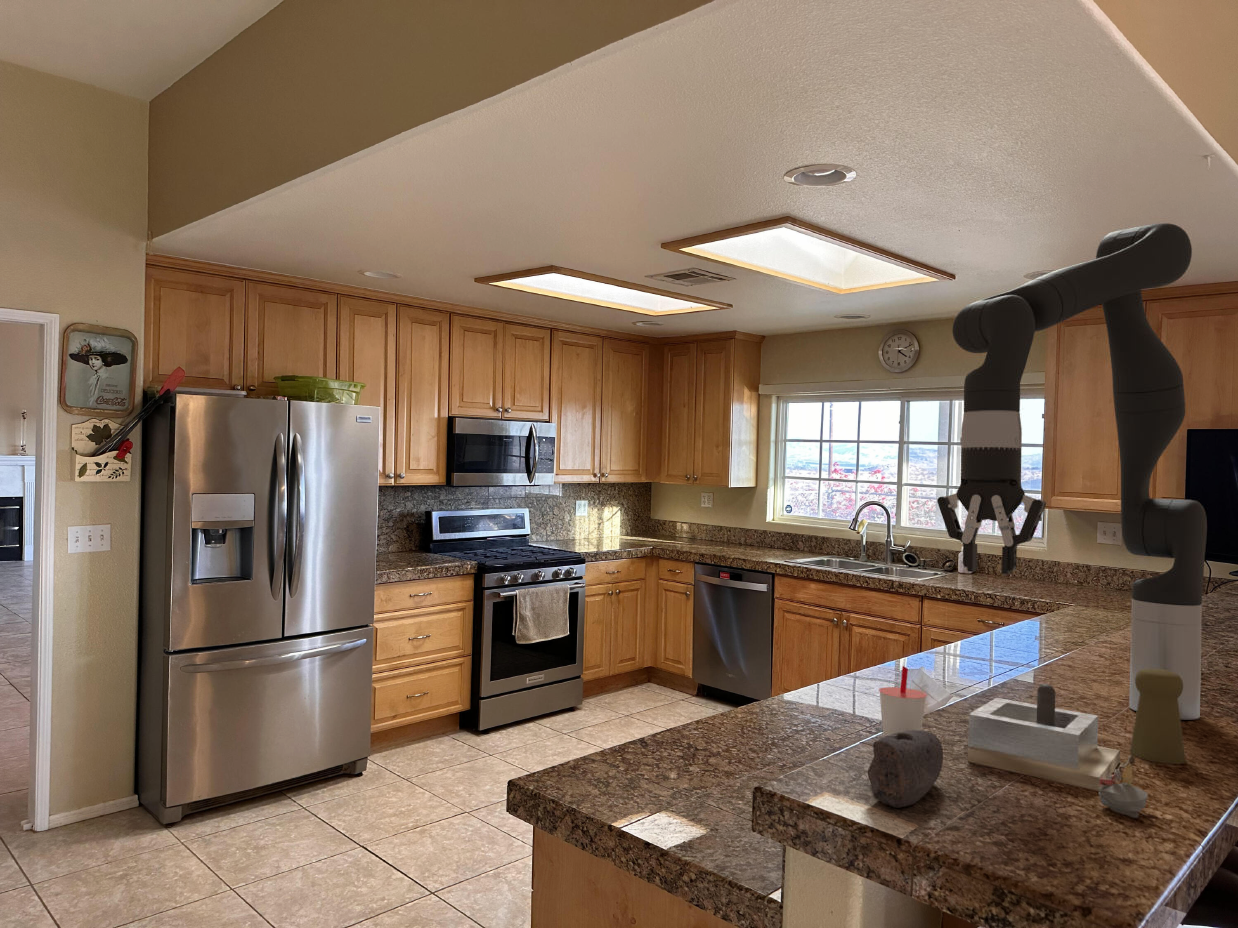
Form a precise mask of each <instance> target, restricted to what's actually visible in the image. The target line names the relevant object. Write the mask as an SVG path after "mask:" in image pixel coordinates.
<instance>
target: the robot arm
mask: <svg viewBox="0 0 1238 928" xmlns="http://www.w3.org/2000/svg"><path fill="white" fill-rule="evenodd" d="M1096 250H1097V251H1096V256H1095V259H1091V260H1088V261H1084V262H1081V263H1076V264H1073V265H1069V266H1066V267H1063V268H1060V269H1057V270H1053V271H1051V272H1049V273H1045V274H1044V275H1041V276H1039V277H1036V278H1034V279H1032V280H1029V281H1027V282H1026V283H1023V284H1022V285H1020V286H1018V287H1015V288H1013V289H1011V290H1009V291H1005V292H1002V293H1001V292H1000V293H999V294H995V295H992V296H989V297H986V298H982V299H979V300H977V301H974V302H972V303H970V304H968V305H966V306H965V307H963V308H962V309H961V310H960V311H959V312H958V313H957V314H956V316H955V318H954V321H953V324H952V330H951V331H952V337H953V339H954V341H955V343H956V344H957V346H959V347H960V348H961V349H962V350H964V351H966V352H967V353H972V354H985V353H986V354H985V359H984V360H983V363H982V364H981V365H980V366H979V367H977V368H975V369H973V370H971V371H970V372H968V373H967V374H966V376H965V378H964V383H963V385H964V386H963V415H962V416H963V417H962V424H961V431H960V433H961V436H960V442H959V444H960V482H959V483H960V485H959V487H958V488H957V490H956V493H952V494H949V495H947V496H942V495H941V496H939V497H938V498H937V499H936V502H937V505H938V507H939V510H940V513H941V516H942V520H943V523H944V525H945V529H946V531H947V534H948V536H949V538H950V539H955V540H957V541H960V542H961V543H962V565H963V567H964V568H966V569H967V572H968V573H969V572H972V573H974V572H977V570H978V544H977V543H976V540H977V537H978V533H979V530H980V528H981V526H982V523H983V521H986V520H990V521H993V522H996V523H997V524H998V525H997V526H998V529H999V531H1000V534H1001V537H1002V541H1003V544H1004V545H1003V546H1002V548H1001V549H1002V550H1001V574H1002V575H1006V576H1007V575H1011V574H1012V572H1013V571H1014V570H1016V568H1017V560H1018V558H1017V556H1018V555H1017V554H1018V553H1017V552H1018V546H1020V544H1024V543H1028V542H1030V541H1032V540H1033V538H1034V535H1035V533H1036V530H1037V528H1038V525H1039V522H1040V520H1041V518H1042V516H1043V514H1044V513H1043V512H1044V511H1045V508H1046V506H1047V503H1046V500H1044V499H1041V498H1040V499H1039V498H1038V499H1037V498H1034V497H1031V496H1028V495H1026V493H1025V491H1024V489H1023V487H1022V444H1023V443H1022V435H1023V433H1022V430H1023V428H1022V421H1021V420H1022V419H1021V413H1020V412H1021V381H1022V378H1023V375H1024V372H1025V369H1026V367H1027V362H1028V357H1029V355H1030V352H1031V348H1032V344H1033V342H1034V336H1035V333H1036V332H1040V331H1043V330H1046V329H1049V328H1051V327H1053V326H1056V325H1058V324H1060V323H1062V322H1064V321H1066V320H1068V319H1071V318H1074V317H1075V316H1077V315H1079V314H1081V313H1083V312H1086V311H1088V310H1090V309H1093V308H1095V307H1097V306H1100V305H1101V307H1102V309H1103V314H1104V321H1105V324H1106V332H1107V338H1108V347H1109V353H1110V354H1109V355H1110V364H1111V365H1110V366H1111V376H1112V377H1111V378H1112V380H1111V381H1112V396H1113V404H1114V405H1113V406H1114V407H1113V408H1114V416H1115V423H1116V431H1117V440H1118V441H1117V442H1118V450H1119V462H1120V463H1119V464H1120V524H1121V525H1120V526H1121V527H1120V528H1121V536H1122V540H1123V544H1124V546H1125V548H1126V551H1128V552H1129V553H1130V554H1132V555H1134V556H1142V557H1153V558H1163V559H1164V558H1166V559H1174V560H1173V564H1172V566H1171V568H1170V569H1169V570H1167V571H1165V572H1163V573H1161V574H1158V575H1154V576H1151V577H1150V576H1149V577H1147V578H1146V577H1145V578H1142V579H1137V580H1135V581H1133V583H1132V585H1131V610H1130V611H1131V616H1130V617H1131V622H1130V631H1131V632H1130V665H1129V666H1130V668H1129V698H1128V699H1129V703H1128V704H1129V705H1128V706H1129V709H1131V710H1133V711H1135V712H1137V707H1138V702H1139V696H1140V692H1139V691H1138V690H1137V688H1136V685H1135V677H1136V674H1137V673H1138V672H1139V671H1140V670H1142V669H1148V668H1157V669H1163V670H1168V671H1171V672H1174V673H1176V674H1177V675H1179V676H1180V678H1181V679H1182V682H1183V691H1182V694H1181V695H1180V696H1179V697H1178V706H1179V714H1180V720H1189V721H1192V720H1198V719H1199V718H1200V716H1201V715H1200V714H1201V713H1200V712H1201V676H1202V675H1201V671H1202V670H1201V669H1202V668H1201V667H1202V617H1203V616H1202V614H1203V611H1202V609H1203V608H1202V607H1203V588H1204V574H1205V558H1206V546H1207V545H1206V544H1207V535H1208V532H1207V531H1208V523H1207V522H1208V521H1207V519H1208V518H1207V514H1206V511H1205V508H1204V506H1203V505H1202V503H1200V502H1199V501H1197V500H1192V499H1182V498H1181V499H1180V498H1179V499H1177V498H1175V499H1173V498H1151V496H1150V483H1151V477H1152V473H1153V471H1154V469H1155V467H1156V464H1157V463H1158V461H1159V459H1160V458H1161V456H1162V455H1163V453H1164V452H1165V450H1166V449H1167V447H1168V446H1169V445H1170V444H1171V441H1172V440H1173V439H1174V437H1175V436H1176V435H1177V433H1178V431H1179V430H1180V428H1181V426H1182V425H1183V422H1184V420H1185V416H1186V398H1185V385H1184V377H1183V376H1184V375H1183V372H1182V369H1181V367H1180V365H1179V363H1178V361H1177V360H1176V358H1175V357H1174V355H1173V354H1172V353H1171V352H1170V350H1169V349H1168V348H1167V347H1166V345H1165V344H1164V343H1163V341H1162V340H1161V338H1160V337H1158V335H1157V334H1156V332H1155V331H1154V330H1153V328H1152V326H1151V325H1150V323H1149V320H1148V317H1147V315H1146V312H1145V306H1144V301H1143V294H1142V290H1147V289H1156V288H1161V287H1162V288H1163V287H1165V286H1167V285H1171V284H1173V283H1175V282H1176V281H1178V280H1179V279H1180V278H1182V277H1183V276H1184V275H1185V273H1186V272H1187V270H1188V269H1189V266H1190V264H1191V262H1192V261H1191V260H1192V255H1193V254H1192V253H1193V251H1192V250H1193V248H1192V244H1191V239H1190V237H1189V235H1188V234H1187V232H1186V231H1185V229H1183V228H1182V227H1181V226H1179V225H1176V224H1174V223H1169V222H1168V223H1167V222H1163V223H1161V222H1160V223H1152V224H1147V225H1141V226H1140V225H1139V226H1136V227H1130V228H1125V229H1119V230H1115V231H1112V232H1109V233H1108V234H1106V235H1105V236H1104V237H1103V238H1102V239H1101V241H1100V242H1099V244H1098V246H1097V249H1096ZM958 502H960V503H961V504H962V506H963V507H964V509H965V510H966V512H967V515H966V518H965V522H964V529H963V530H962V528H961V524H960V522H959V518H958V515H957V513H956V510H957V509H958V507H959V506H958ZM1022 503H1023V505H1024V507H1023V510H1024V512H1025V513H1026V517H1025V518H1024V521H1023V524H1022V527H1021V529H1020V531H1019V534H1017V533H1016V528H1015V526H1016V525H1015V521H1014V518H1013V514H1014V513H1015V512H1016V511H1017V509H1018V508H1019V507H1020V505H1021V504H1022Z"/></svg>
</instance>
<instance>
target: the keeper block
mask: <svg viewBox="0 0 1238 928" xmlns="http://www.w3.org/2000/svg"><path fill="white" fill-rule="evenodd" d="M1036 691H1037V692H1036V705H1037V722H1036V723H1037V724H1042V725H1048V726H1053V727H1055V708H1056V690H1055V688H1054V687H1053V686H1052V685H1051V684H1048V683H1042V684H1040V685H1039V686H1038V688H1037V690H1036ZM967 750H968V753H967V754H968V755H967V762H969V763H972V764H977V765H981V766H986V767H989V768H990V767H991V768H995V769H998V770H1004V771H1007V772H1012V773H1017V774H1021V775H1025V776H1030V777H1034V778H1039V779H1044V780H1048V781H1052V782H1056V783H1061V784H1064V785H1065V784H1066V785H1070V786H1074V787H1078V788H1082V789H1087V790H1092V791H1097V792H1100V789H1098V788H1101V785H1100V784H1099V781H1100V778H1108V777H1107V776H1109V774H1111V772H1112V773H1114V772H1113V771H1114V770H1116V769H1117V768H1118V765H1120V764H1121V763H1120V758H1121V757H1120V755H1121V754H1120V752H1121V750H1119V749H1114V748H1110V747H1105V746H1100V745H1097V749H1096V750H1095V751H1094V752H1093V753H1092V755H1091V756H1090V757H1089V758H1088V759H1087V760H1086V762H1085V763H1084V764H1083V765H1082V766H1081V767H1080V769H1079V770H1073V769H1068V768H1064V767H1059V766H1054V765H1050V764H1045V763H1040V762H1036V761H1031V760H1027V759H1022V758H1017V757H1013V756H1008V755H1003V754H999V753H994V752H989V751H985V750H980V749H976V748H971V747H968V749H967ZM1105 770H1107V771H1108V772H1107V771H1105ZM1102 771H1103V772H1102ZM1105 773H1107V776H1106V774H1105ZM1108 773H1109V774H1108ZM1111 775H1112V774H1111ZM1109 777H1110V776H1109ZM1108 779H1109V778H1108Z"/></svg>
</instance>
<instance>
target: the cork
mask: <svg viewBox="0 0 1238 928" xmlns="http://www.w3.org/2000/svg"><path fill="white" fill-rule="evenodd" d="M1135 685H1136V688H1137V690H1138V691H1139V692H1140V696H1139V702H1138V707H1137V711H1136V713H1135V719H1134V720H1135V721H1134V724H1133V725H1134V726H1133V730H1132V737H1131V743H1130V747H1129V752H1130V755H1133V756H1134V757H1137V758H1140V759H1143V760H1147V761H1151V762H1156V763H1162V764H1170V765H1171V764H1173V765H1179V764H1180V765H1181V764H1184V763H1186V762H1187V760H1186V754H1185V747H1184V738H1183V729H1182V722H1181V719H1180V714H1179V706H1178V697H1179V696H1180V695H1181V694H1182V691H1183V682H1182V679H1181V678H1180V676H1179V675H1177V674H1176V673H1174V672H1171V671H1168V670H1163V669H1157V668H1148V669H1142V670H1140V671H1139V672H1138V673H1137V674H1136V677H1135Z"/></svg>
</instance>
